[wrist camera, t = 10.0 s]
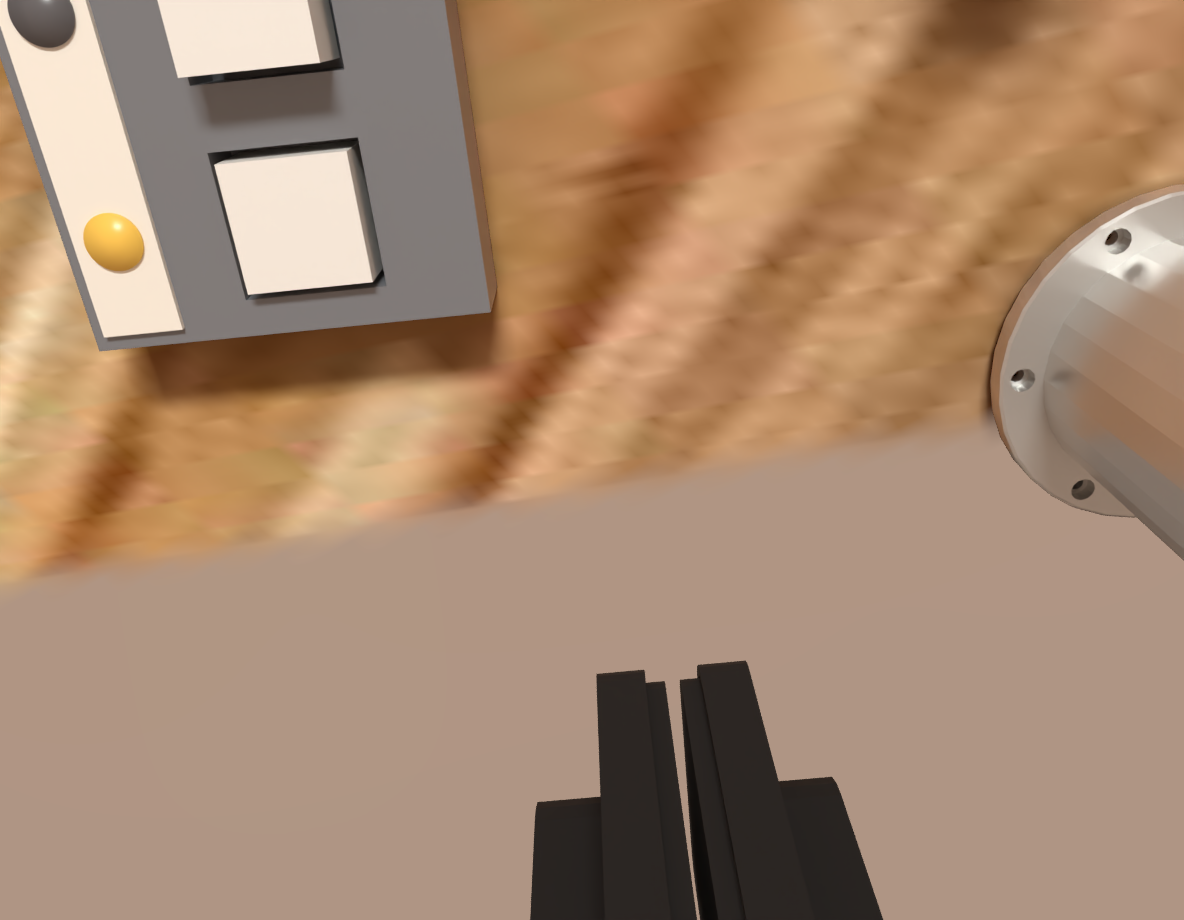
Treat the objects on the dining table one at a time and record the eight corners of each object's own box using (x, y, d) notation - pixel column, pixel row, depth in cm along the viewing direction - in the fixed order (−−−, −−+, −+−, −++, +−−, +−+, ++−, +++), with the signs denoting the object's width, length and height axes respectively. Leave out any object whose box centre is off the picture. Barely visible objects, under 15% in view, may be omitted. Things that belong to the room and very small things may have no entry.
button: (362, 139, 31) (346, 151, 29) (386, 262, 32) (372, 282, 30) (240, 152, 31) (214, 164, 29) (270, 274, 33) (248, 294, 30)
